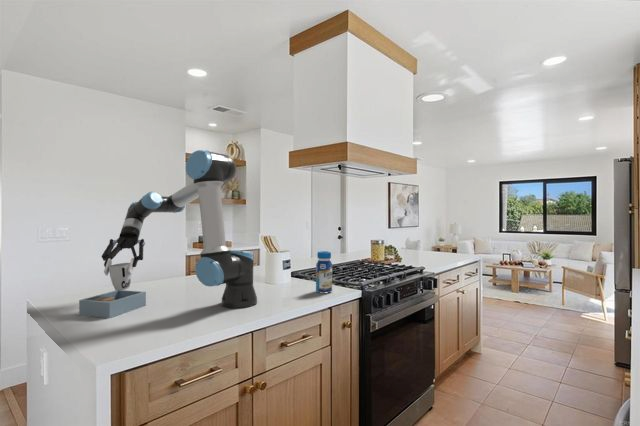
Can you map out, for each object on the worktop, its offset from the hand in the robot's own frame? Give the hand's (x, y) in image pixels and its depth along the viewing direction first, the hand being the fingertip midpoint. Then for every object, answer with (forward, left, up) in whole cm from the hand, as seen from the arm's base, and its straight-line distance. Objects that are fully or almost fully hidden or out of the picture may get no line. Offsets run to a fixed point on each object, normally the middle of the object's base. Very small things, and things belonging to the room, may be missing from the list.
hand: (117, 273), depth 146 cm
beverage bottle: (-72, -54, -15) cm, 92 cm away
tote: (+1, +1, -15) cm, 15 cm away
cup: (0, -3, -7) cm, 8 cm away
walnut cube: (+1, +6, -14) cm, 15 cm away
